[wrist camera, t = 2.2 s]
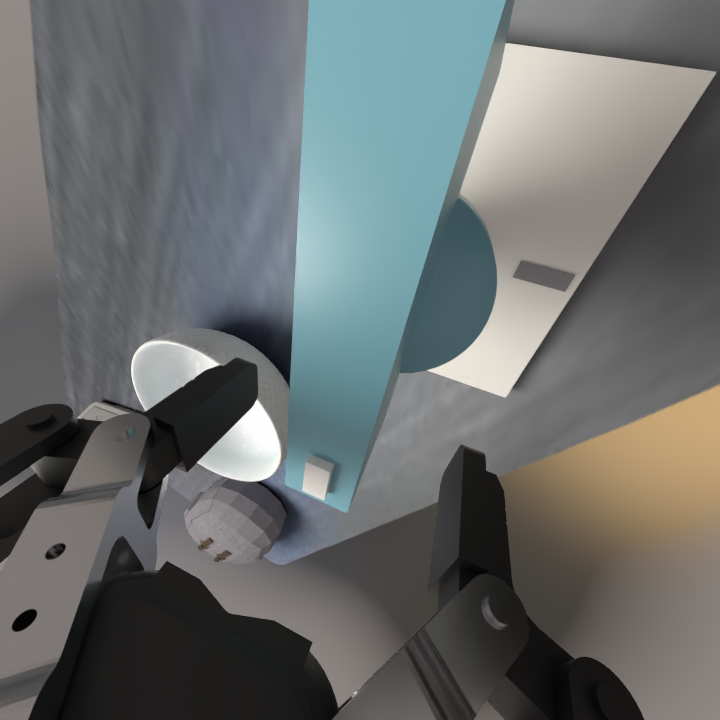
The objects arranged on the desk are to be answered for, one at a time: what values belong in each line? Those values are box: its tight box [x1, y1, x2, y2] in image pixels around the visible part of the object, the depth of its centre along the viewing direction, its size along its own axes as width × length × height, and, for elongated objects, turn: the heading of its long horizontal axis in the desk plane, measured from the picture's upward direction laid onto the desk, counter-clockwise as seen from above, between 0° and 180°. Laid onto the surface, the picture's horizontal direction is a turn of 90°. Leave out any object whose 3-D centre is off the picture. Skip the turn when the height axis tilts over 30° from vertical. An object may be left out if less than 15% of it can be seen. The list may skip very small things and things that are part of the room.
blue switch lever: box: [285, 0, 514, 513], centre depth 10 cm, size 12×7×8 cm, turn 169°
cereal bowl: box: [131, 328, 290, 482], centre depth 30 cm, size 17×17×7 cm
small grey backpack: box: [184, 477, 287, 564], centre depth 46 cm, size 15×8×20 cm
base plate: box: [427, 43, 717, 398], centre depth 16 cm, size 18×18×8 cm
